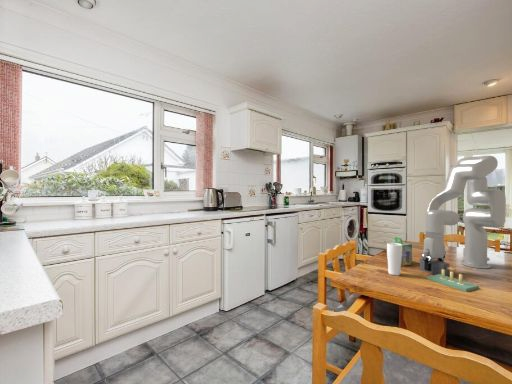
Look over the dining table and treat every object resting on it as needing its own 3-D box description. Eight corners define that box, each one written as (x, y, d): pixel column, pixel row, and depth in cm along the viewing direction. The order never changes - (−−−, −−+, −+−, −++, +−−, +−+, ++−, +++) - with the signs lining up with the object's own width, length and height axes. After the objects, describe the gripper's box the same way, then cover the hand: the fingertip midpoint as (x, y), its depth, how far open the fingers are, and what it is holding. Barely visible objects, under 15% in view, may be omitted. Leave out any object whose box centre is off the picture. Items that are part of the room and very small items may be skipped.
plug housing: (425, 268, 138) (425, 257, 138) (458, 278, 124) (458, 265, 123) (419, 269, 136) (419, 258, 136) (452, 279, 122) (452, 266, 122)
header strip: (439, 276, 125) (439, 265, 125) (478, 288, 111) (478, 276, 111) (427, 279, 122) (427, 268, 122) (465, 291, 107) (466, 279, 107)
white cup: (400, 272, 131) (400, 243, 131) (403, 277, 124) (403, 245, 124) (385, 271, 133) (386, 242, 133) (387, 275, 127) (388, 244, 126)
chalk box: (412, 265, 144) (412, 238, 144) (398, 266, 142) (399, 239, 142) (399, 260, 153) (399, 235, 153) (386, 261, 151) (386, 236, 150)
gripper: (437, 233, 138) (437, 265, 138) (415, 235, 131) (415, 269, 132) (453, 235, 131) (452, 269, 132) (430, 237, 124) (430, 273, 125)
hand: (433, 269), depth 132 cm, fingers open, 8 cm apart
